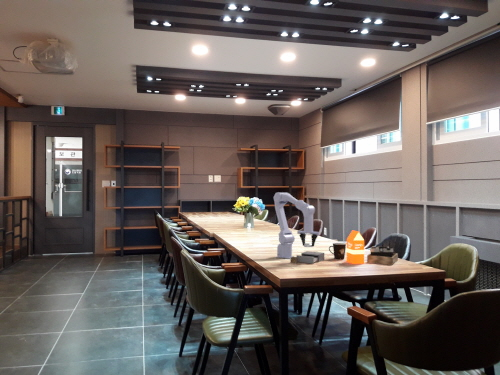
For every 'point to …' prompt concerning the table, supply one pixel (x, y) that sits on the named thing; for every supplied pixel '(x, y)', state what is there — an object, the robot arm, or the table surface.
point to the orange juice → (355, 248)
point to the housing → (314, 255)
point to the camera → (382, 251)
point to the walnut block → (293, 260)
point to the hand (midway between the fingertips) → (308, 245)
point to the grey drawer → (306, 259)
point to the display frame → (382, 259)
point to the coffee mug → (338, 250)
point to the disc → (307, 245)
